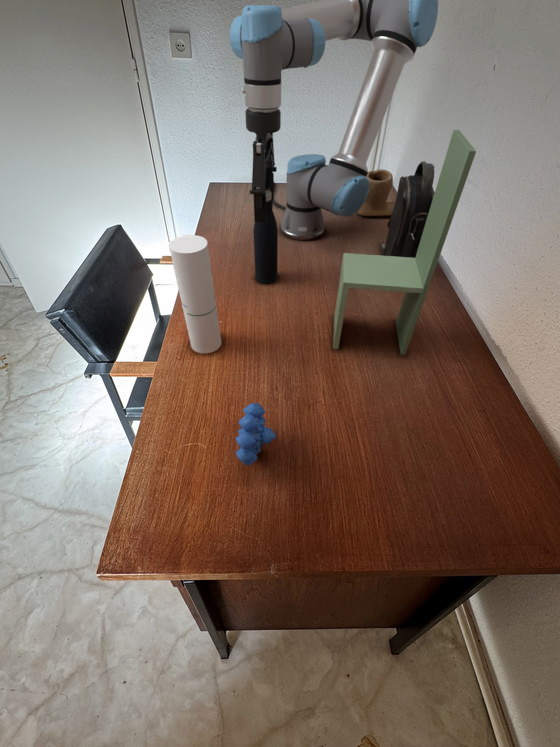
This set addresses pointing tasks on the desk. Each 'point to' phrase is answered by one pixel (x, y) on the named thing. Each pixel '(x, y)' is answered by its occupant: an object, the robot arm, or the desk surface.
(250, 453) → the grapes
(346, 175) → the robot arm
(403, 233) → the shoulder bag
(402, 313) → the green miniature chair
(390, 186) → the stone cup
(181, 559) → the desk surface
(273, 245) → the wine bottle
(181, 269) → the cylindrical container
